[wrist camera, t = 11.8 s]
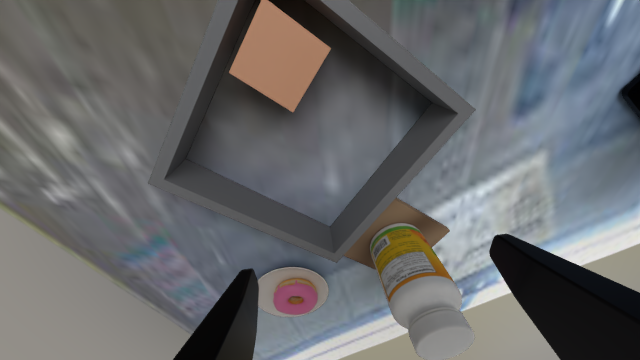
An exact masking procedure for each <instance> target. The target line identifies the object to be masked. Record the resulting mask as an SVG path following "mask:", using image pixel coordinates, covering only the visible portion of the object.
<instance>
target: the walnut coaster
mask: <svg viewBox="0 0 640 360" xmlns="http://www.w3.org/2000/svg"><path fill="white" fill-rule="evenodd" d="M396 223H406V224H410V225H413V226H415V227H416V228H417V229H419V230H420V232H421V233H422V234H423V236H424V237H425V239H426V240H427V242H428V243H429V245H430V246H431V248H432V247H433V246H434V245H435V244H436V243H437V242H438V241H439V240H441V239H442V238H443V237H444V236H445V235H446V234H447V233H448V232H449V231H450V230H449V229H448V228H447V227H446V226H444V225H443V224H441V223H439V222H437V221H436V220H434V219H432V218H431V217H429V216H427V215H425V214H424V213H422V212H420V211H418V210H417V209H415V208H413V207H412V206H410V205H408V204H406V203H405V202H403V201H401V200H400V199H398V198H395V199H394V200H393V201H392V203H391V204H390V205H389V206H388V207H387V208H386V209H385V210H384V211H383V212H382V214H381V215H380V216H379V217H378V218H377V219H376V220H375V221H374V222H373V223H372V225H371V226H370V227H369V228H368V229H367V230H366V231H365V232H364V233H363V234H362V236H361V237H360V238H359V239H358V240H357V241H356V242H355V243H354V244H353V245H352V247H351V248H350V249H349V250H348V251H347V252H346V253H345V254H344V255H343V256H346V257H348V258H350V259H353V260H355V261H357V262H359V263H362V264H364V265H366V266H369V267H371V268H373V269H375V270H376V267H375V264H374V261H373V259H372V256H371V252H370V244H371V241H372V239H373V237H374V236H375V234H376V233H377V232H379V231H380V230H381V229H383V228H384V227H386V226H389V225H392V224H396Z"/></svg>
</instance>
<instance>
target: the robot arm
mask: <svg viewBox="0 0 640 360" xmlns="http://www.w3.org/2000/svg"><path fill="white" fill-rule="evenodd" d="M622 96H623V97H624V99H625V100H626V101H627V103H628V104H629V105H630V106H631V108H632V109H633V110H634V111H635V113H636V114H637V115H638V117H639V118H640V75H638V76H637V77H636V78H635V79H634V80H633V81H632V82H631V83H629V84H628V85H627V86H626V87H625V88H624V89H623V91H622ZM489 253H490V257H491V259H492V260H493V262H494V264H495V265H496V267H497V269H498V270H499V272H500V274H501V275H502V277H503V279H504V280H505V282H506V284H507V285H508V287H509V289H510V290H511V292H512V293H513V295H514V297H515V298H516V299H517V301H518V302H519V304H520V305H521V306H522V308H523V309H524V310H525V312H526V313H527V315H528V316H529V317H530V319H531V320H532V321H533V323H534V324H535V325H536V327H537V328H538V330H539V331H540V332H541V334H542V335H543V336H544V338H545V339H546V340H547V342H548V343H549V345H550V346H551V347H552V349H553V350H554V352H555V353H556V354H557V356H558V357H559V358H560V360H640V293H639V292H637V291H634V290H632V289H630V288H628V287H626V286H623V285H621V284H619V283H617V282H614V281H612V280H610V279H608V278H606V277H603V276H601V275H599V274H597V273H594V272H592V271H590V270H588V269H585V268H583V267H581V266H579V265H576V264H574V263H572V262H570V261H567V260H565V259H563V258H561V257H558V256H556V255H554V254H552V253H550V252H547V251H545V250H543V249H541V248H538V247H536V246H534V245H532V244H529V243H527V242H525V241H523V240H520V239H518V238H516V237H514V236H511V235H509V234H501V235H496V236H495V237H494V238H493V241H492V244H491V248H490V251H489ZM258 298H259V284H258V281H257V278H256V275H255V272H254V270H253V269H244V270H241V271H240V272H239V274H238V275H237V276H236V278H235V279H234V280H233V282H232V283H231V284H230V285H229V287H228V288H227V289H226V291H225V292H224V293H223V295H222V296H221V297H220V299H219V300H218V301H217V303H216V304H215V305H214V306H213V308H212V309H211V310H210V312H209V313H208V314H207V316H206V317H205V318H204V320H203V321H202V322H201V324H200V325H199V326H198V327H197V329H196V330H195V331H194V333H193V334H192V335H191V337H190V338H189V339H188V341H187V342H186V343H185V345H184V346H183V347H182V348H181V350H180V351H179V352H178V354H177V355H176V356H175V358H174V359H173V360H252V359H253V353H254V347H255V340H256V333H257V316H258Z"/></svg>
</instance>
